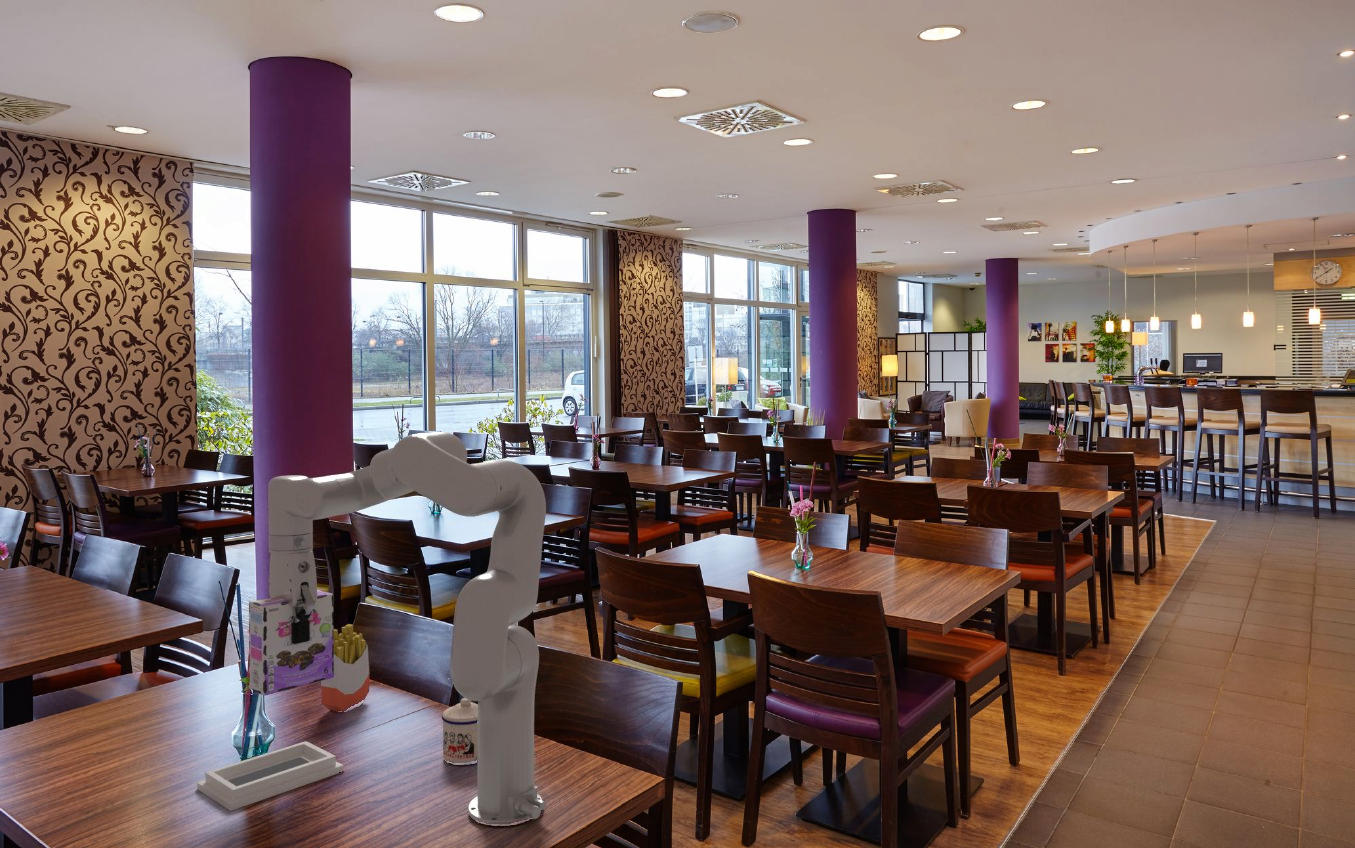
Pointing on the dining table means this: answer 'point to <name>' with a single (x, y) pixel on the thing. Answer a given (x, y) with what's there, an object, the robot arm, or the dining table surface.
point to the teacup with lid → (460, 732)
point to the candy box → (289, 645)
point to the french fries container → (347, 672)
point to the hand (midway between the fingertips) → (291, 638)
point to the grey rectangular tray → (268, 775)
